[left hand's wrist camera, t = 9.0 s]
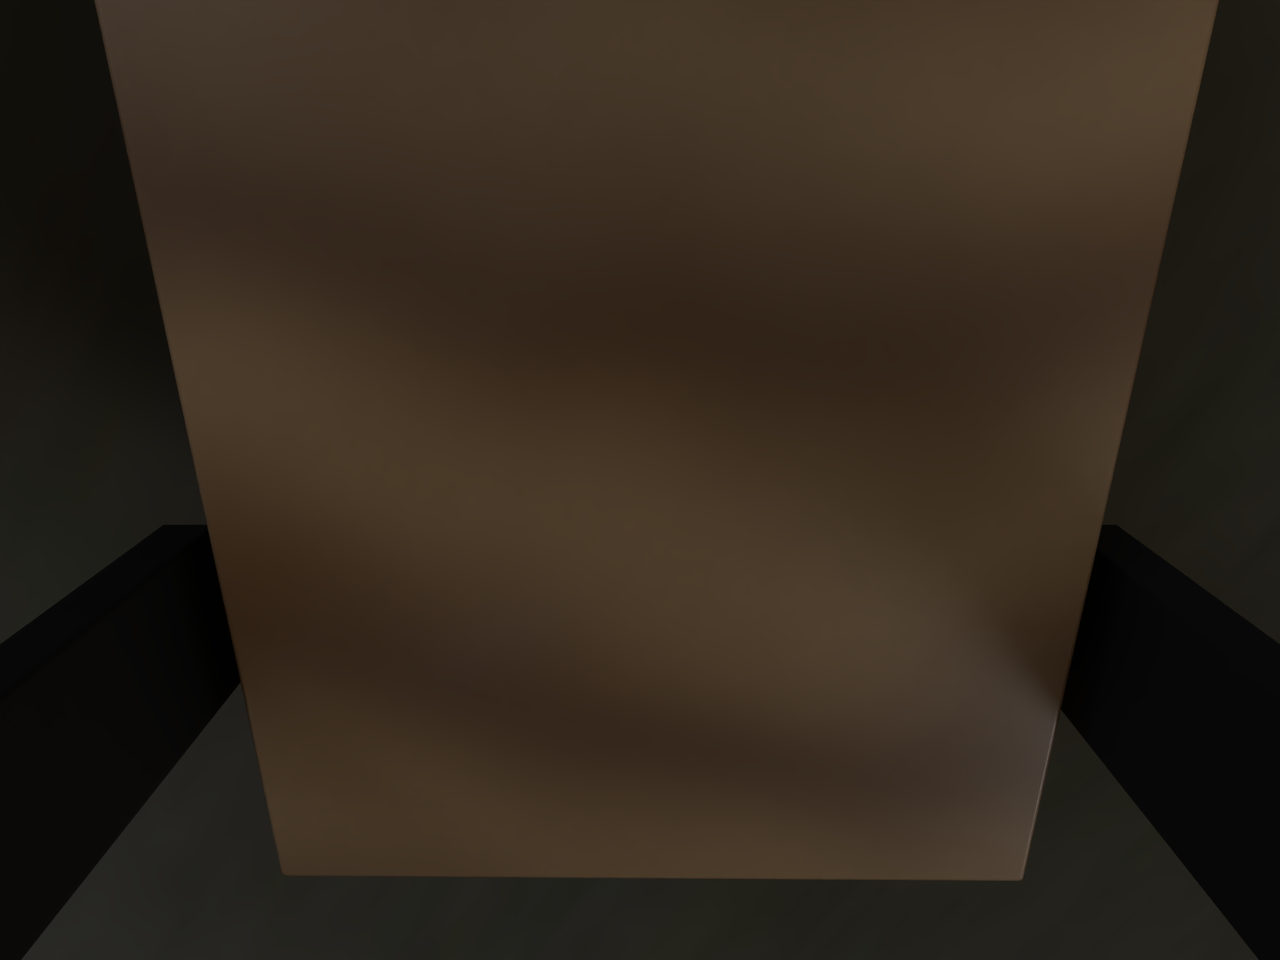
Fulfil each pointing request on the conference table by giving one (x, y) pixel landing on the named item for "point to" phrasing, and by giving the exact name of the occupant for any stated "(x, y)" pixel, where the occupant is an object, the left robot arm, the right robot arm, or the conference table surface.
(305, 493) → the cabinet
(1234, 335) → the conference table surface
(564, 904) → the conference table surface
